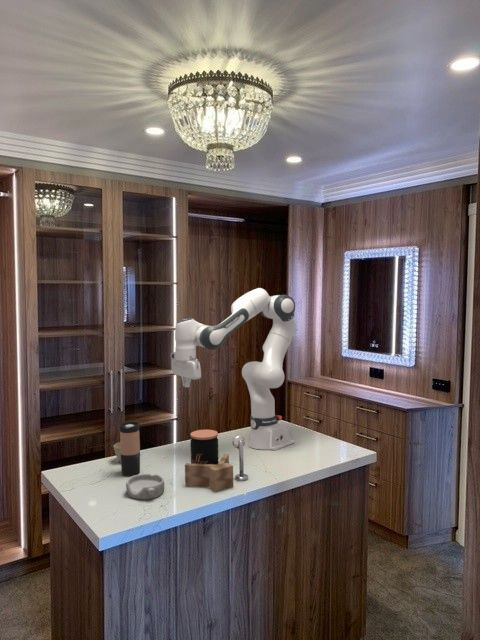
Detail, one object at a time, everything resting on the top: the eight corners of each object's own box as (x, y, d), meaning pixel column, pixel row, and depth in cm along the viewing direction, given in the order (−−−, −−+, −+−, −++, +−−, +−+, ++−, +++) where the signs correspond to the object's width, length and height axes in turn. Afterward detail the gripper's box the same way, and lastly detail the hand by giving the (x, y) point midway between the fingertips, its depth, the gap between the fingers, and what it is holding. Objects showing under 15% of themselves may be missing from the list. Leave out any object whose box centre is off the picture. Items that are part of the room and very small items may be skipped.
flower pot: (131, 465, 203) (131, 449, 203) (109, 464, 205) (109, 447, 205) (141, 457, 213) (140, 441, 213) (120, 456, 215) (119, 440, 215)
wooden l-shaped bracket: (227, 472, 193) (226, 453, 193) (246, 482, 183) (245, 462, 182) (183, 484, 182) (183, 464, 181) (201, 496, 171) (200, 474, 171)
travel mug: (134, 468, 200) (132, 420, 199) (144, 473, 195) (142, 424, 193) (117, 473, 195) (116, 424, 194) (127, 478, 189) (126, 428, 188)
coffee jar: (185, 479, 188) (184, 433, 187) (206, 471, 195) (205, 427, 194) (203, 486, 180) (202, 439, 179) (224, 478, 187) (223, 433, 186)
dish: (157, 502, 168) (157, 488, 167) (119, 500, 170) (119, 486, 170) (170, 485, 182) (170, 472, 181) (135, 483, 184) (135, 471, 184)
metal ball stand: (243, 475, 191) (242, 434, 190) (250, 479, 186) (250, 437, 186) (232, 478, 188) (231, 436, 187) (240, 482, 184) (239, 439, 183)
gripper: (204, 357, 204) (205, 389, 205) (181, 352, 221) (181, 382, 222) (191, 358, 200) (192, 391, 201) (168, 354, 217) (169, 384, 218)
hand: (186, 386), depth 211 cm, fingers closed
